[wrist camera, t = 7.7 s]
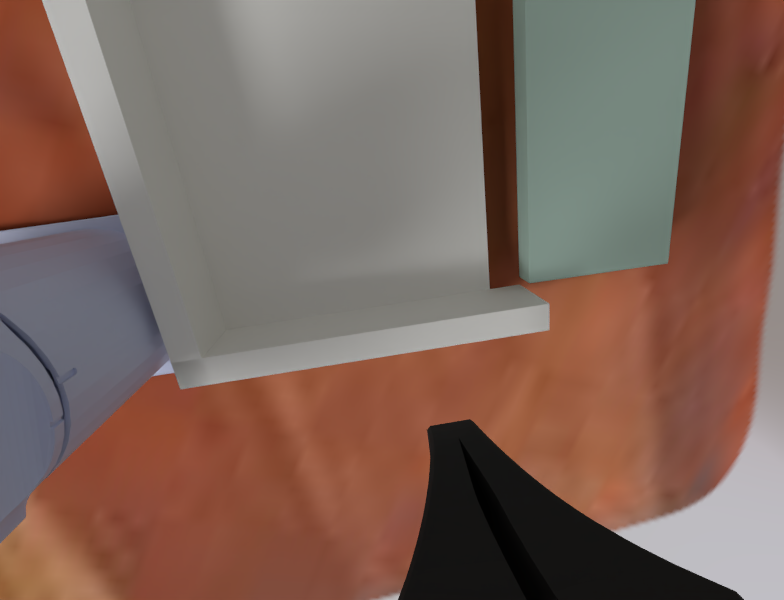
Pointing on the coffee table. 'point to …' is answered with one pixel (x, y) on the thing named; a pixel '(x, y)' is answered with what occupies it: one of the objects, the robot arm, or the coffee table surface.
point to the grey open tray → (294, 176)
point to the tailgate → (598, 132)
